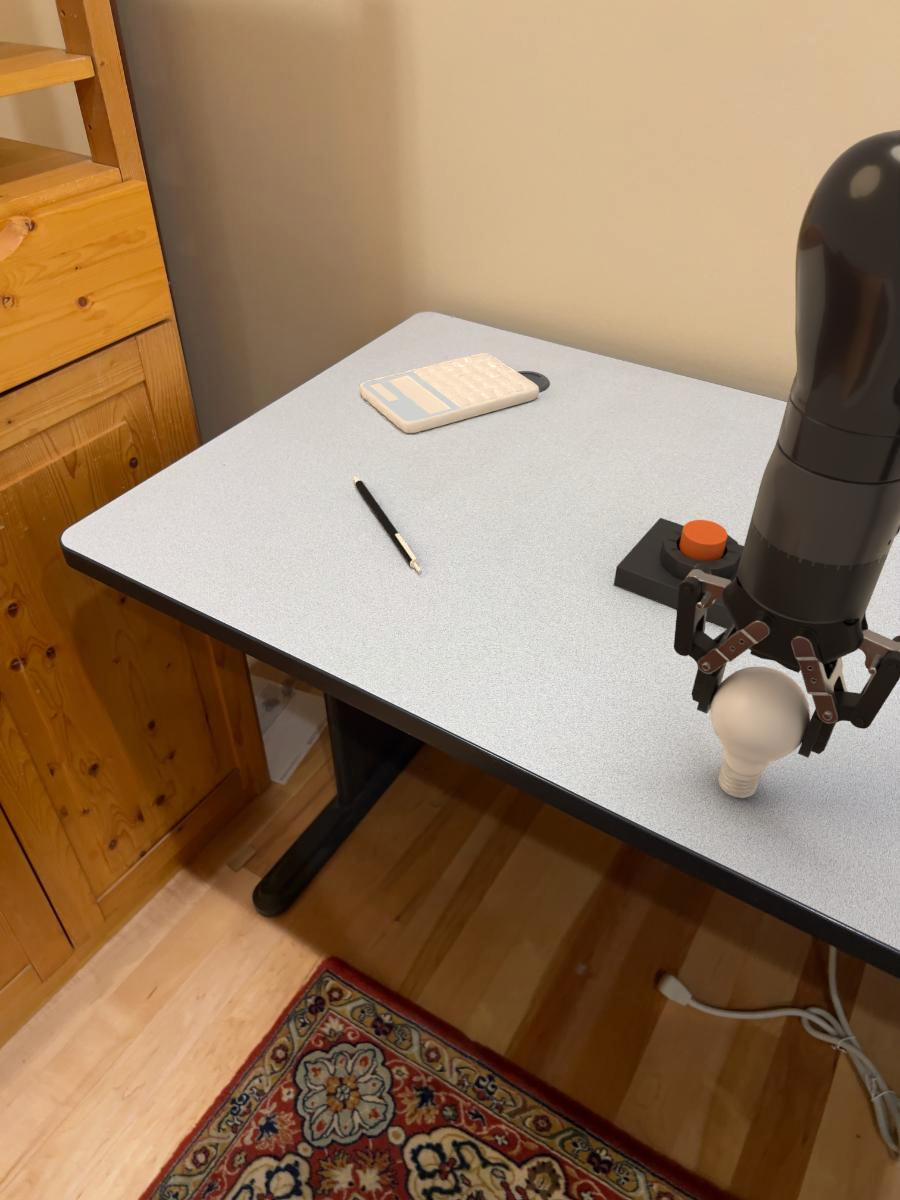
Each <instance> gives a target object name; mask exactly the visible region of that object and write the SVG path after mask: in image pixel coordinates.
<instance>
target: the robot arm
mask: <svg viewBox="0 0 900 1200" xmlns="http://www.w3.org/2000/svg"><path fill="white" fill-rule="evenodd" d="M797 235H798V236H797V241H796V248H795V249H796V250H795V280H794V281H795V285H794V286H795V289H794V290H795V314H794V315H795V323H794V324H795V325H794V328H795V330H794V334H795V352H796V353H795V354H796V371H795V376H794V378H793V380H792V384H791V388H790V391H789V395H788V397H787V402H786V405H785V409H784V413H783V417H782V419H781V424H780V428H779V431H778V435H777V439H776V441H775V445H774V447H773V449H772V452H771V455H770V457H769V459H768V460H767V463H766V466H765V469H764V470H763V474H762V477H761V480H760V485H759V488H758V490H757V491H758V492H757V494H756V495H757V496H756V499H755V504H754V507H753V511H752V515H751V518H750V522H749V526H748V530H747V534H746V537H745V541H744V545H743V546H744V548H743V552H742V556H741V559H740V563H739V567H738V571H737V574H736V575H735V576H734V577H733V578H732V579H731V580H729V579H725V578H721V577H718V576H714V575H711V570H710V568H709V567H708V566H707V565H705V564H702V563H699V564H696V565H695V566H694V568H693V569H692V570H691V571H690V573H689V574H688V575H687V577H686V578H685V579H684V580H683V582H682V583H681V584H680V586H679V595H678V605H677V609H676V618H675V629H674V638H673V639H674V640H673V641H674V642H673V649H674V652H675V653H676V654H677V655H679V656H682V657H688V656H689V657H690V658H691V659H693V660H694V661H695V664H696V665H697V670H696V673H695V674H696V675H695V678H694V683H693V686H692V690H691V698H692V701H694V702H696V703H697V707H696V710H697V711H699V712H701V713H703V714H706V715H707V714H708V713H709V712H710V708H711V702H712V698H713V696H714V693H715V691H716V689H717V688H718V686H719V685H720V684H721V683H722V681H723V678H724V674H725V671H726V668H727V664H728V663H731V662H733V661H734V660H735V659H737V658H738V657H739V656H741V655H742V654H743V653H745V652H746V651H748V650H749V651H750V653H749V654H750V655H752V656H754V657H757V658H760V659H763V660H767V661H773V662H776V663H777V664H779V665H780V666H782V667H784V668H786V669H788V670H790V671H793V672H795V673H797V674H799V673H800V672H801V676H802V679H803V682H804V686H805V689H806V693H807V694H808V695H811V697H812V701H813V704H814V707H815V709H814V712H813V714H812V715H811V716H810V722H809V725H808V728H807V730H806V733H805V736H804V738H803V741H802V743H801V744H800V745H799V749H798V751H797V754H798V755H800V756H802V757H805V758H807V759H809V758H810V756H811V753H815V754H817V755H820V754H821V753H823V752H825V750H826V748H827V745H828V743H829V742H830V739H831V736H832V734H833V732H834V729H835V726H836V725H837V723H838V722H850V723H851V725H852V726H854V727H855V728H856V729H861V730H863V729H867V728H869V727H870V726H871V725H872V723H873V721H874V720H875V718H876V717H877V715H878V714H879V712H880V710H881V709H882V707H883V706H884V704H885V703H886V701H887V700H888V698H889V697H890V695H891V693H892V692H893V690H894V688H895V687H896V685H897V684H898V682H899V680H900V635H896V636H894V637H893V638H892V639H891V638H889V637H886V636H884V635H882V634H880V633H877V632H875V631H873V630H871V629H869V624H868V620H867V614H866V612H867V609H868V607H869V604H870V601H871V599H872V596H873V594H874V592H875V589H876V586H877V583H878V581H879V578H880V577H881V574H882V572H883V569H884V566H885V563H886V561H887V559H888V555H889V553H890V551H891V548H892V546H893V544H894V541H895V539H896V537H897V536H898V534H899V533H900V129H896V130H895V129H894V130H890V131H889V130H888V131H885V132H880V133H876V134H873V135H871V136H868V137H866V138H863V139H861V140H859V141H857V142H855V143H854V144H852V145H851V146H849V147H848V148H847V149H845V150H844V151H843V152H842V153H841V154H840V155H839V156H837V157H836V159H834V161H833V162H832V163H831V164H830V166H829V167H828V168H827V170H826V171H825V172H824V173H823V175H822V176H821V178H820V180H819V181H818V183H817V184H816V187H815V188H814V190H813V192H812V194H811V195H810V198H809V201H808V202H807V205H806V207H805V210H804V213H803V215H802V218H801V222H800V225H799V229H798V234H797ZM718 598H722V599H723V603H724V605H725V607H726V609H727V611H728V613H729V616H730V618H731V620H732V622H733V623H732V624H731V625H730V627H729V628H728V629H727V628H725V630H724V631H722V632H721V633H720V634H719V635H718V636H717V635H716V637H714V638H712V637H710V635H708V634H706V633H705V631H706V624H707V623H706V622H707V620H706V615H707V608H709V607H711V606H712V604H713V603H714V601H715V600H716V599H718ZM857 650H860V651H862V653H863V654H864V655H865V660H864V666H865V668H866V669H867V672H868V674H869V675H870V676H869V678H868V679H867V681H866V683H865V685H864V687H863V688H862V690H861V692H853V691H848V688H847V684H846V681H845V678H844V677H845V676H844V673H843V667H844V664H843V663H844V662H843V657H845V656H847V655H850V654H852V653H854V652H856V651H857Z"/></svg>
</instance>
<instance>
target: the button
mask: <svg viewBox="0 0 900 1200" xmlns="http://www.w3.org/2000/svg"><path fill="white" fill-rule="evenodd" d="M683 526H684V527H683V530H682V535H681V539H680V544H679V549H680V551H681V552H682V553H683V554H684V555H685V556H687V557H690V558H693V559H696V560H699V561H715V560H718V559H720V558H721V557H722V556H723V553H724V549H725V545H726V541H727V537H728V535H729V534H728V532H727V530H726V528H725V527H724V526H722V525H721V524H719V523H717V522H715V521H711V520H708V519H707V520H706V519H694V520H690V521H688V522H686V523H685V524H684V525H683ZM727 534H728V535H727Z"/></svg>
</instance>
